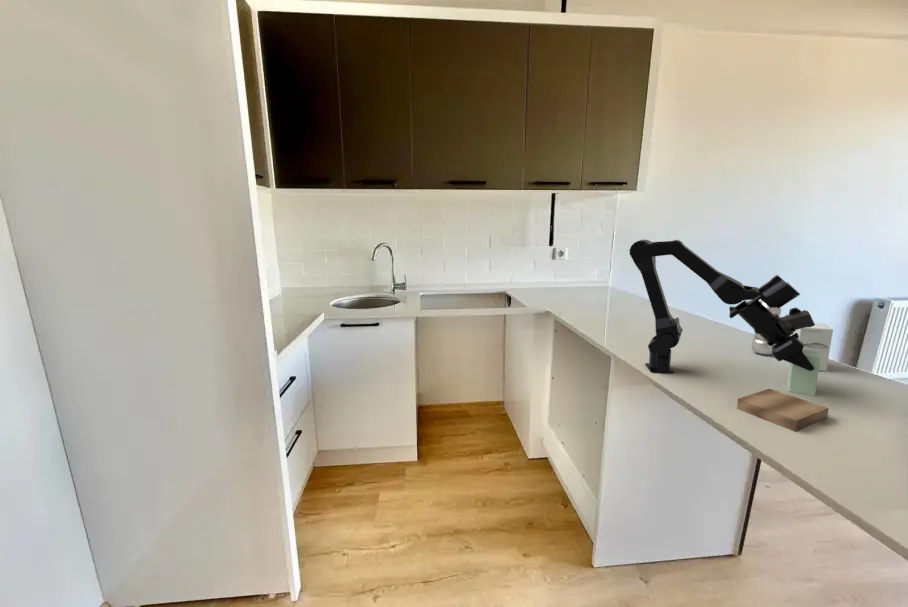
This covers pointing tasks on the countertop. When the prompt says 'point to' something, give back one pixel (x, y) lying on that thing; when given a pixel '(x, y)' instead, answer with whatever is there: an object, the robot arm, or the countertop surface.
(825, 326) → the supplement box
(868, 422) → the countertop surface
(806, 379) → the sage block
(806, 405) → the walnut plinth
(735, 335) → the countertop surface
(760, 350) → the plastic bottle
